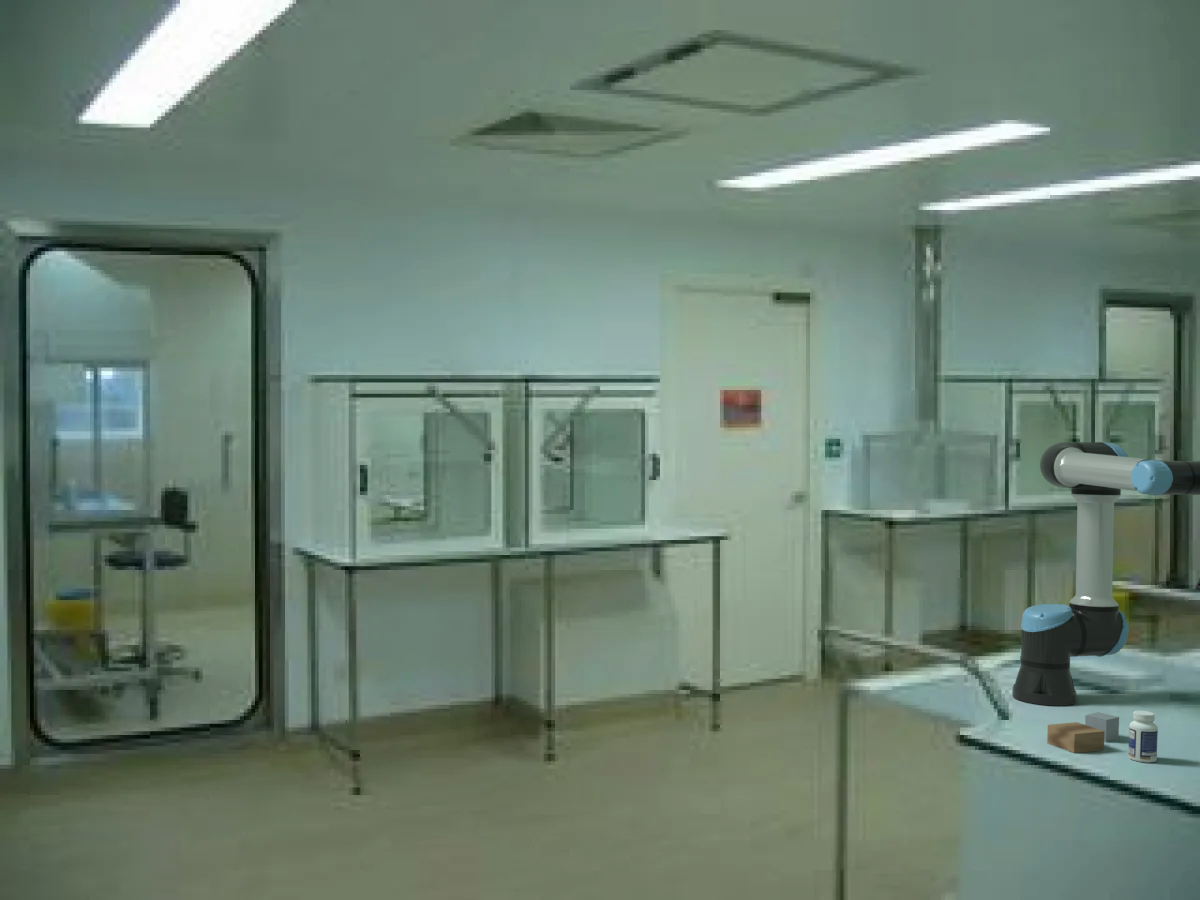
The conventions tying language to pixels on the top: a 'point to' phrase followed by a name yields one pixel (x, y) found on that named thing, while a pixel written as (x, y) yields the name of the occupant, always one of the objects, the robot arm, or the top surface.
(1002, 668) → the top surface
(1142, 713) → the pill bottle
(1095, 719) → the slate cube
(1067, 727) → the walnut block
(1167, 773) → the top surface
